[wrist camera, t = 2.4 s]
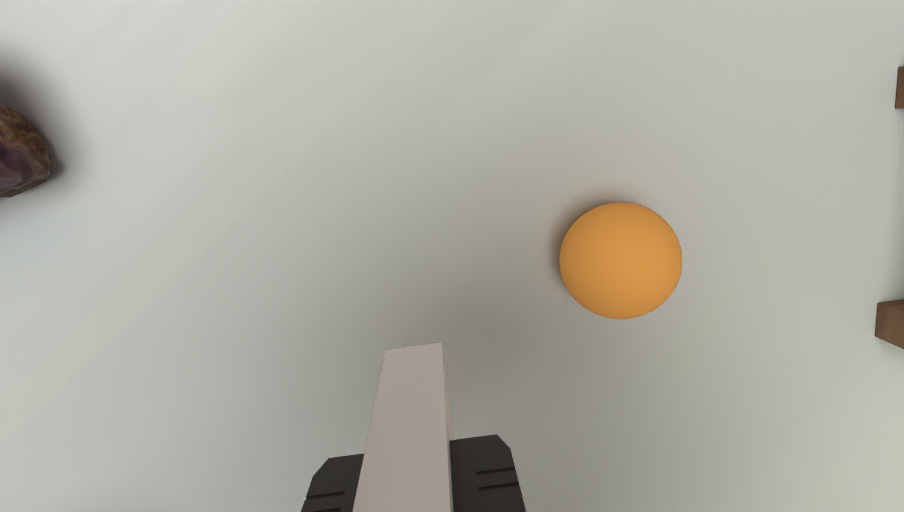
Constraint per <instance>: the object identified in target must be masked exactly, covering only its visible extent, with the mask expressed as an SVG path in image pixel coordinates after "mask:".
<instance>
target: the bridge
mask: <svg viewBox="0 0 904 512" xmlns="http://www.w3.org/2000/svg"><path fill="white" fill-rule="evenodd" d="M897 108H904V66H903V67H899V72H898V83H897V94H896V105H895V109H897ZM875 336H876V337H878V338H880V339H883V340H885V341H887V342H889V343H891V344H894V345H896V346H898V347H900V348H902V349H904V300H897V301H889V302H882V303H878V309H877V321H876V332H875Z"/></svg>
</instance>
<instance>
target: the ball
mask: <svg viewBox="0 0 904 512" xmlns="http://www.w3.org/2000/svg"><path fill="white" fill-rule="evenodd" d="M559 264H560V271H561V275H562V279H563V281H564V284H565V286H566V287H567V289H568V291H569V292H570V294H571V295H572V296H573V298H574V299H575V300H576V301H577V302H578V303H580V304H581V305H582V306H583V307H585V308H586V309H588V310H589V311H591V312H593V313H595V314H598V315H601V316H604V317H608V318H615V319H627V318H634V317H638V316H641V315H644V314H647V313H649V312H651V311H653V310H654V309H656V308H657V307H659V306H660V305H661V304H663V303H664V302H665V301H666V300H667V299H668V297H669V296H670V295H671V294H672V292H673V291H674V289H675V287H676V285H677V283H678V281H679V278H680V275H681V269H682V252H681V247H680V244H679V241H678V238H677V236H676V235H675V233H674V231H673V229H672V228H671V227H670V225H669V224H668V223H667V222H666V221H665V220H664V219H663V218H662V217H661V216H659V215H658V214H657V213H655V212H654V211H652V210H650V209H648V208H646V207H643V206H640V205H637V204H632V203H624V202H617V203H609V204H604V205H601V206H598V207H595V208H593V209H591V210H589V211H588V212H586V213H585V214H583V215H582V216H581V217H580V218H578V219H577V220H576V221H575V222H574V223H573V225H572V226H571V227H570V229H569V230H568V232H567V234H566V235H565V237H564V240H563V242H562V246H561V249H560V256H559Z"/></svg>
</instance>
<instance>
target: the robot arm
mask: <svg viewBox="0 0 904 512" xmlns="http://www.w3.org/2000/svg"><path fill="white" fill-rule="evenodd" d="M301 512H526V510H525V506H524V502H523V498H522V494H521V490H520V486H519V482H518V478H517V474H516V470H515V466H514V462H513V457H512V453H511V449H510V448H509V447H508V446H507V445H506V444H505V443H504V442H503V440H502V439H501V438H500V437H499V436H498V435H497V434H496V435H488V436H481V437H473V438H465V439H458V440H455V438H454V428H453V421H452V413H451V406H450V399H449V392H448V384H447V377H446V370H445V362H444V355H443V348H442V342H441V343H433V344H426V345H418V346H410V347H403V348H395V349H387V350H386V351H385V355H384V360H383V365H382V370H381V375H380V380H379V385H378V390H377V394H376V399H375V404H374V409H373V414H372V419H371V424H370V429H369V434H368V438H367V443H366V448H365V453H364V454H357V455H350V456H342V457H334V458H328V460H327V461H326V462H325V463H324V464H323V465H322V467H321V468H320V469H319V470H318V471H317V472H316V473H315V475H314V476H313V478H312V481H311V484H310V487H309V490H308V493H307V496H306V500H305V501H304V504H303V507H302V510H301Z"/></svg>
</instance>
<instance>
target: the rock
mask: <svg viewBox="0 0 904 512" xmlns="http://www.w3.org/2000/svg"><path fill="white" fill-rule="evenodd" d="M51 166H52V164H51V161H50V159H49V157H48V148H47V146H46V144H45V142H44V140H43V138H42V137H41V136H40V135H39V133H38V132H37V131H36V130H35V129H34V127H33V126H32V125H31V124H30V123H29V122H28V120H27V119H26V118H25V117H24V116H23V115H21V114H19V113H18V112H16V111H14V110H12V109H10V108H8V107H6V106H4V105H3V104H1V103H0V197H12V196H14V195H17V194H20V193H22V192H24V191H25V190H26V189H28V188H29V187H33V186H36V185H38V184H40V183H43V182H45V180H46V179H47V178H48V177H49V173H50V169H51Z"/></svg>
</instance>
